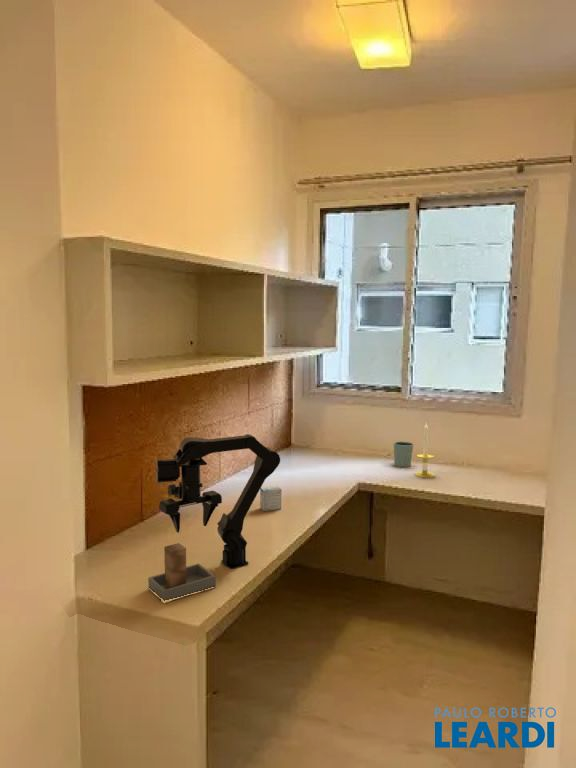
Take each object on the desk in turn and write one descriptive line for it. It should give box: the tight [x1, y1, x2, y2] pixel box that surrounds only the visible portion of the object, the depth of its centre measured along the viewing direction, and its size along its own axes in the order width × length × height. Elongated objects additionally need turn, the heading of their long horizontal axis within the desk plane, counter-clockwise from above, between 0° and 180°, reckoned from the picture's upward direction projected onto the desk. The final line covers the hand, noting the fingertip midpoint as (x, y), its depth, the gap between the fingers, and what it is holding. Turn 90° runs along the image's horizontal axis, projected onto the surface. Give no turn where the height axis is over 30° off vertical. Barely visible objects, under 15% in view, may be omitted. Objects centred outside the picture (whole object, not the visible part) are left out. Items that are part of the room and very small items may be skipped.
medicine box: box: [259, 485, 282, 512], centre depth 231 cm, size 8×4×9 cm, turn 111°
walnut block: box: [163, 542, 187, 589], centre depth 161 cm, size 4×4×12 cm
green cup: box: [393, 440, 414, 468], centre depth 301 cm, size 10×10×12 cm
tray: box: [147, 563, 216, 601], centre depth 163 cm, size 16×10×4 cm, turn 127°
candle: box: [414, 422, 436, 479], centre depth 282 cm, size 10×10×27 cm
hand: (191, 529), depth 174 cm, fingers open, 9 cm apart
